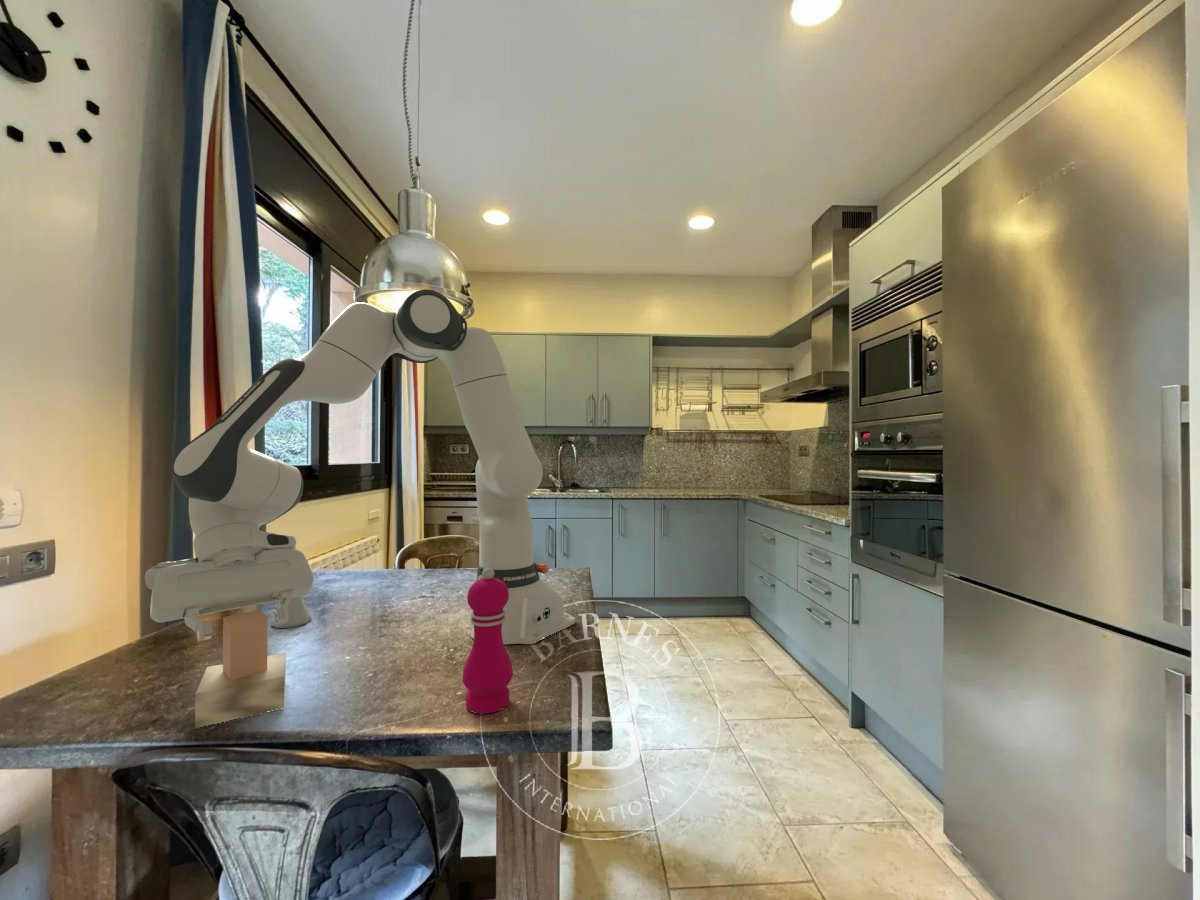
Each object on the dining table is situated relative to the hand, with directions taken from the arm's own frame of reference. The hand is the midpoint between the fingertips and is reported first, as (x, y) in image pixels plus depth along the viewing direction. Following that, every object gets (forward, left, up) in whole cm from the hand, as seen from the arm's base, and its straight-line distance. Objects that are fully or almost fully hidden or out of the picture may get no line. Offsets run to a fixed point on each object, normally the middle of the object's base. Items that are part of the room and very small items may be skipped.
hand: (245, 629), depth 72 cm
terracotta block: (0, 0, -6) cm, 6 cm away
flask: (-16, -35, -11) cm, 40 cm away
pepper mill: (-24, +27, -11) cm, 38 cm away
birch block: (0, 0, -11) cm, 11 cm away
